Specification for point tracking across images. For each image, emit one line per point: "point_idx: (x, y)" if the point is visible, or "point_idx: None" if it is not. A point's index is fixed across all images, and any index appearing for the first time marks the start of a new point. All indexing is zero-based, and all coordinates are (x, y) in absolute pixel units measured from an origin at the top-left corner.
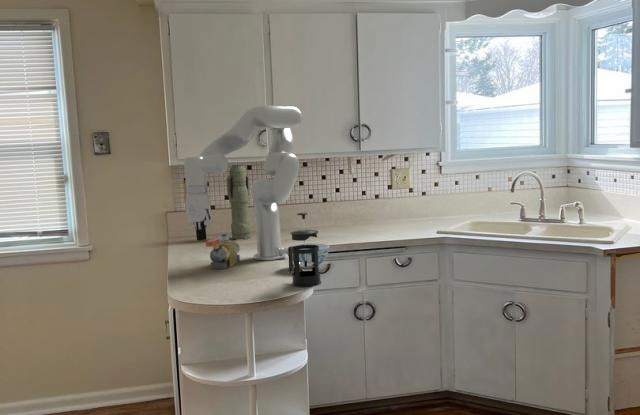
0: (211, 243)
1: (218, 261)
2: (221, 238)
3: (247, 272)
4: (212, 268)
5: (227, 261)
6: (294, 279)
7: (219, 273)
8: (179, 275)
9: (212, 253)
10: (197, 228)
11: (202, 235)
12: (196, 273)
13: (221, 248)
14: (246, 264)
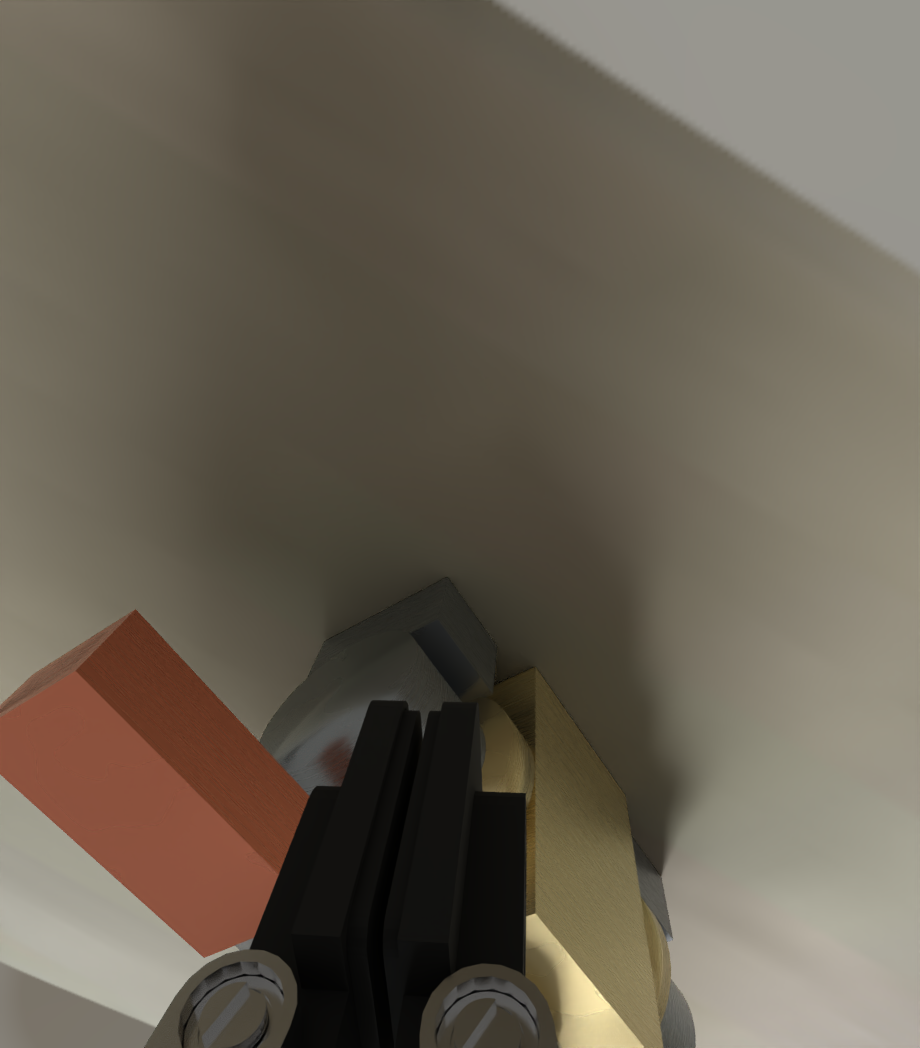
0: (9, 699)
1: (332, 662)
2: None
3: (11, 674)
4: (435, 587)
5: None
6: None
7: (157, 497)
8: (436, 89)
9: (371, 698)
10: (431, 1022)
11: (299, 840)
12: (365, 330)
13: None
14: None
